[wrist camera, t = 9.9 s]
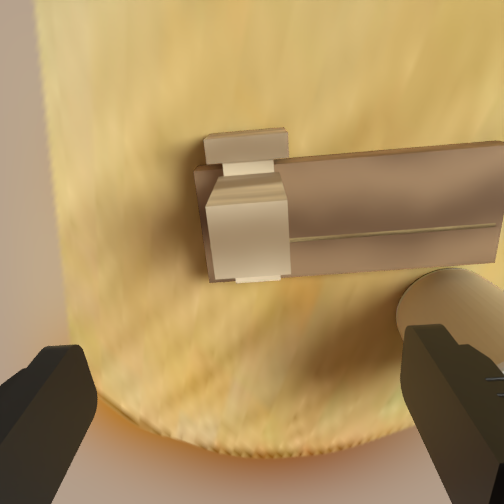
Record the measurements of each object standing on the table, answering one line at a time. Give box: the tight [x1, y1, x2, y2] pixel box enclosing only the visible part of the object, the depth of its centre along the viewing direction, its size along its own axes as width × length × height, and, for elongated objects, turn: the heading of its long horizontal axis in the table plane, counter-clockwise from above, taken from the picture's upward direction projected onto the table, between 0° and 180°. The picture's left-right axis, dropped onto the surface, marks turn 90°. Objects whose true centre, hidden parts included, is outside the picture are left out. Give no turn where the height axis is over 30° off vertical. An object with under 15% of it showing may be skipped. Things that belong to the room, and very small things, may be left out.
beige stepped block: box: [204, 127, 291, 283], centre depth 22 cm, size 9×5×10 cm, turn 5°
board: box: [193, 141, 504, 283], centre depth 26 cm, size 8×20×2 cm, turn 95°
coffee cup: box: [396, 268, 504, 374], centre depth 24 cm, size 9×9×12 cm
